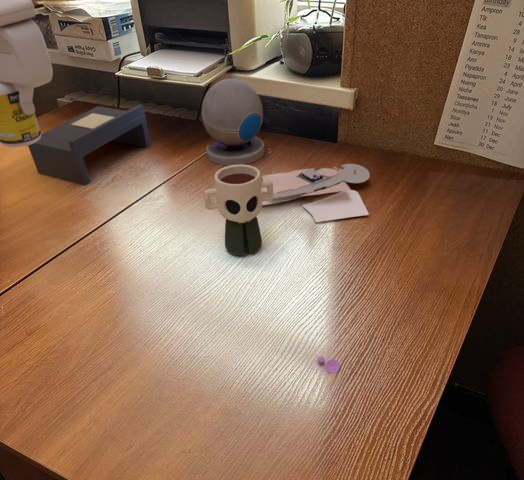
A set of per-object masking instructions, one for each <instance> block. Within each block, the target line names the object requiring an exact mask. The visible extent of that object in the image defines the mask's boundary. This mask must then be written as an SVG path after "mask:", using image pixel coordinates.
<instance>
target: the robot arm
mask: <svg viewBox="0 0 524 480" xmlns="http://www.w3.org/2000/svg"><path fill="white" fill-rule="evenodd" d="M36 15H37V13H36V8H35V5H34V2H33V0H0V81H2V82H7V83H13V84H14V87H15V89H16V91H19V101H18V102H16V104H17V106H18V108H19V112H20V113H21V114H25V115H31V114H33V113H35V114H36V107H35V104H34V91H35V88H39V87H40V86H44V85H46V84H49V83H50V82H52V80H53V75H54V70H53V66H52V61H51V58H50V54H49V50H48V48H47V44H46V41H45V39H44V35H43V33H42V31H41V29H40V27H39V26H38V24H37V23H36V22H35V21H34V20H33V19H32V18H35V17H36Z"/></svg>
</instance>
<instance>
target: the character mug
mask: <svg viewBox="0 0 524 480" xmlns="http://www.w3.org/2000/svg"><path fill="white" fill-rule="evenodd" d="M213 179H214V188H209V189H206V190H204V191H203V200H204V206H205V208H206V210H210V211H211V210H217V211H218V212H219V214H220V216H221V217H222V218H223V219H225V222H224V224H225V225H224V247H225V249H226V250H227V252H229V253H231V254H232V255H237V256H244V255H245V250H248V252H249V255H252V254H254V253H256V252H258V251H259V250H260V249H261V247H262V245H263V244H262V241H263V239H262V235H261V228H260V223H259V220H258V217H257V216H258V215H259V214H260V213H261V212H262V210H263V205H262V202H263V201H270V200H272V199H273V183H272V181H263V180H262V178H261V171H260V170H259V169H258V168H257V167H255V166H252V165H249V164H240V165H225V166H224V167H222V168H220V169H217V171H216V172H215V173H214V178H213ZM263 187H267V195H261V188H263ZM212 196H216V202H212V199H211V197H212Z"/></svg>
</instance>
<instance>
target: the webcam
mask: <svg viewBox="0 0 524 480" xmlns="http://www.w3.org/2000/svg"><path fill="white" fill-rule="evenodd" d="M201 103H202V104H201V119H202V123H203V127H204V128H205V130H206V132H207V134H208V135H209V136H210V137H211V139H213V140H214V141H216V142H214V143H213V144H212V145H207V146H206V148H205V151H206V152H205V153H206V158H207V160H209V161H210V162H211V163H214V164H217V165H222V166H231V165H240V164H243V165H248V164H250V163H253V162H256V161H257V160H259V159H261V158H262V157H263V156H264V155H265V144H264V141H263V140H262V139H261V138H260V137H259V136H258V137H257V136H256V135H257V134H258V133H259V131H260V129H261V127H262V123H263V119H264V108H263V103H262V101H261V97H260V96H259V94H258V92H256V90H255V88H253V86H251V85H250V84H249V83H247V82H245V81H243V80H241V79H237V78H224V79H222V80H220V81H218V82H216V83H214V84H213V85H212V86H210V87H209V89H208V90H207V91H206V93H205V95H204V97H203V100H202V102H201Z"/></svg>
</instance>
